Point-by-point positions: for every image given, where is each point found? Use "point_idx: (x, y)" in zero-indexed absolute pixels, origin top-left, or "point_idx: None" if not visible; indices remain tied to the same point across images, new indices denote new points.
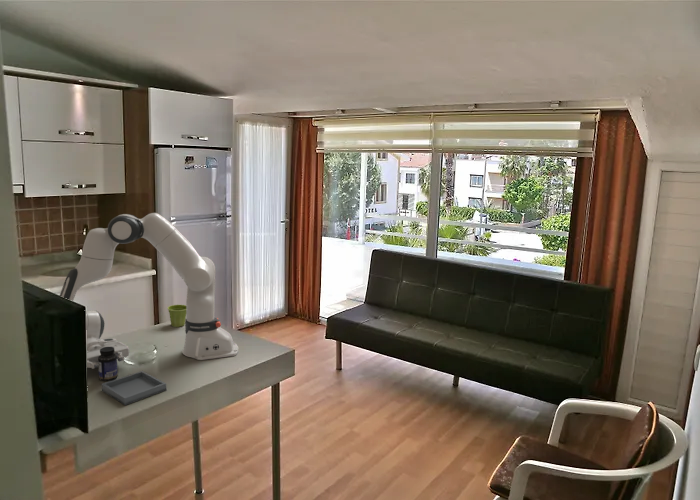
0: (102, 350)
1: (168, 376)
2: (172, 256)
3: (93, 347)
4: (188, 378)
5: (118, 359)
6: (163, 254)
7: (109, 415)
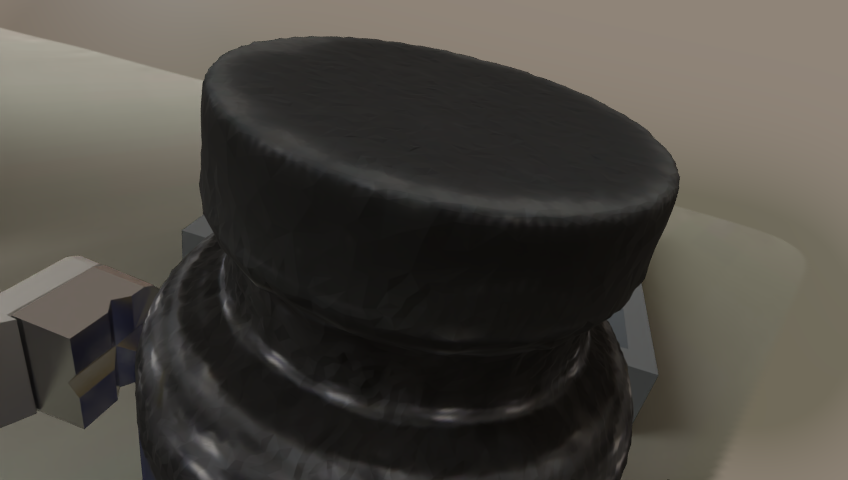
0: (624, 139)
1: (123, 178)
2: None
3: None
4: (140, 116)
5: (117, 369)
6: None
7: (717, 237)
